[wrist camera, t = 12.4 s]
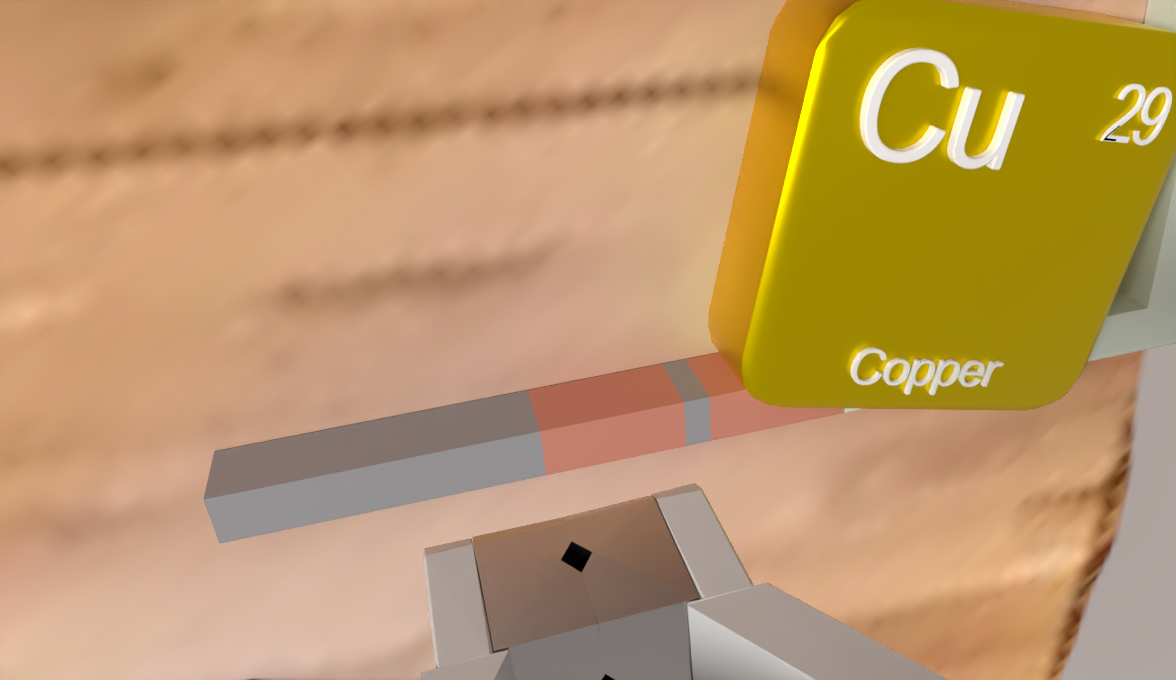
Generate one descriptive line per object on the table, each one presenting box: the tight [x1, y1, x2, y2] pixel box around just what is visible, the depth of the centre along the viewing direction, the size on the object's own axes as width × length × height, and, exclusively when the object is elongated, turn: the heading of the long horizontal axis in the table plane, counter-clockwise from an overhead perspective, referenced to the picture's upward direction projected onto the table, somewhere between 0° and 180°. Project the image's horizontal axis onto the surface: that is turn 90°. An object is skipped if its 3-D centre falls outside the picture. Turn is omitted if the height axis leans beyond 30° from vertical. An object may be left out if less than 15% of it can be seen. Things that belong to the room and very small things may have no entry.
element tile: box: [708, 0, 1176, 410], centre depth 36 cm, size 15×15×5 cm
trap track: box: [204, 0, 1176, 543], centre depth 33 cm, size 23×39×3 cm, turn 96°
